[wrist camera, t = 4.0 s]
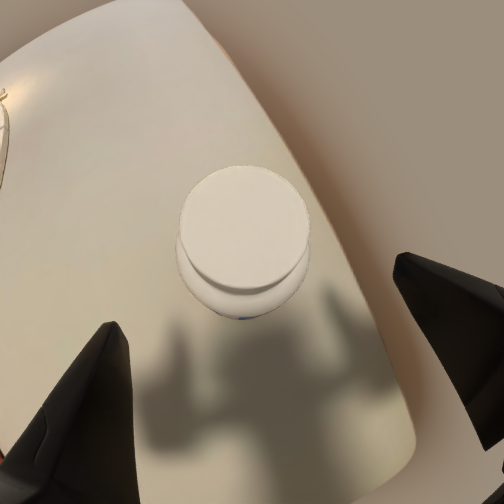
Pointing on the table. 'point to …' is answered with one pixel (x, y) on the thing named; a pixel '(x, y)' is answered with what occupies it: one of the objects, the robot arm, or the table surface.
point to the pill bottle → (243, 241)
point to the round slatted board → (3, 135)
